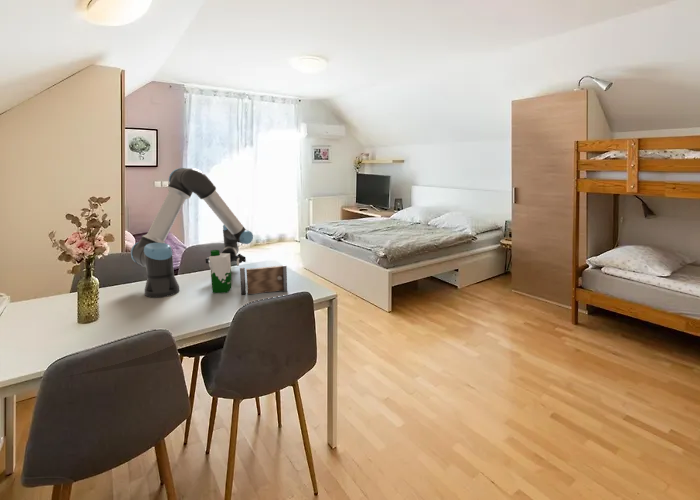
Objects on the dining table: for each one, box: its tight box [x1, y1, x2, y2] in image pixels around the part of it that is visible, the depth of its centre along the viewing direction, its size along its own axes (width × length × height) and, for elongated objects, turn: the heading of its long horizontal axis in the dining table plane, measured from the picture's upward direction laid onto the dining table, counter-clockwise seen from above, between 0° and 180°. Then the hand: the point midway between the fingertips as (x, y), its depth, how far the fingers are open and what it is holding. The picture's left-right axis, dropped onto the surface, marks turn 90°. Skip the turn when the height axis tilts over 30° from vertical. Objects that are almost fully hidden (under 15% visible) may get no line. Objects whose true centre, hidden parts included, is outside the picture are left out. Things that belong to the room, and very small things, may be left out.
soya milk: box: [208, 249, 233, 294], centre depth 193 cm, size 9×9×20 cm
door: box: [246, 265, 283, 295], centre depth 191 cm, size 18×4×12 cm, turn 111°
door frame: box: [239, 264, 288, 296], centre depth 190 cm, size 22×2×13 cm, turn 106°
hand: (223, 263), depth 202 cm, fingers open, 13 cm apart
